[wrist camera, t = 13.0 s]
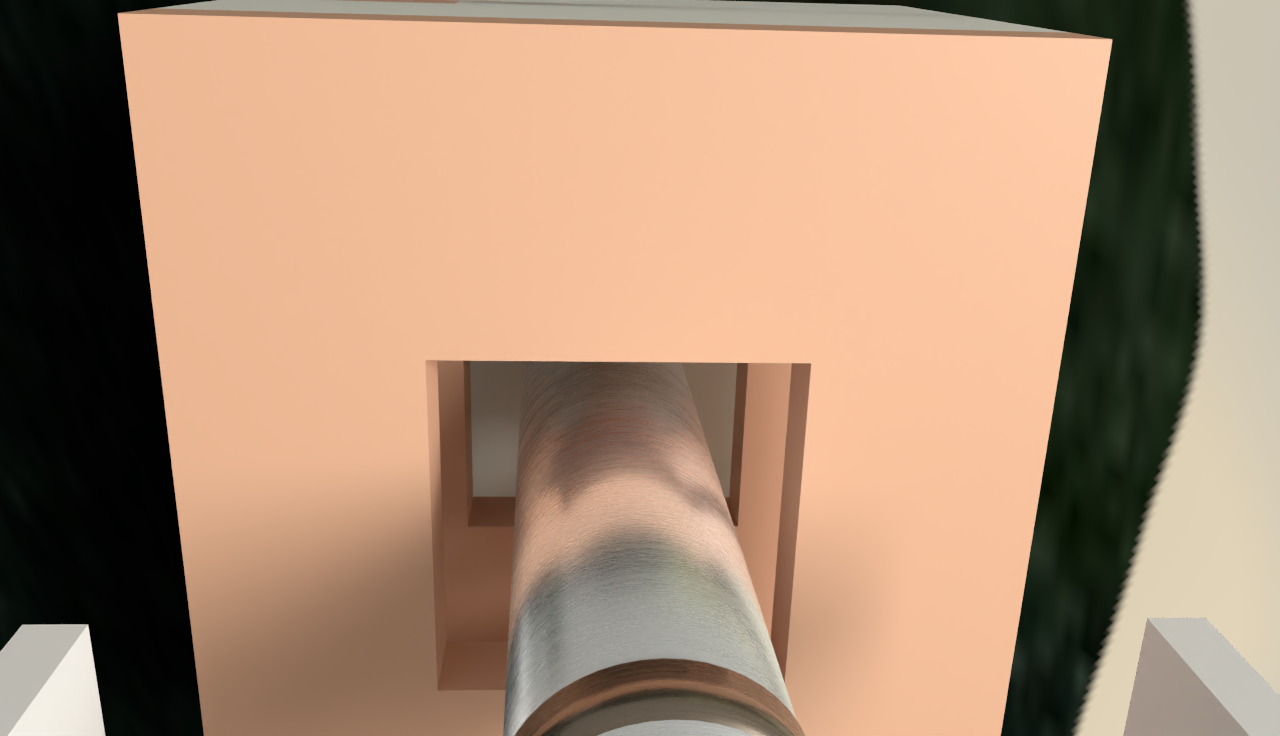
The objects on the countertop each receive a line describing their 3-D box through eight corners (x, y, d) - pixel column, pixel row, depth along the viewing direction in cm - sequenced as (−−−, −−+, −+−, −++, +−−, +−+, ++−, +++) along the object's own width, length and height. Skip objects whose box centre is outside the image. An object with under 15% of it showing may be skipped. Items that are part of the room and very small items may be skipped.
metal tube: (666, 404, 29) (879, 1207, 11) (522, 404, 29) (481, 1230, 10) (673, 265, 28) (927, 900, 10) (521, 263, 28) (476, 916, 9)
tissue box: (840, 593, 33) (972, 906, 22) (343, 595, 32) (226, 922, 21) (899, 5, 27) (1112, 39, 17) (302, -12, 27) (117, 13, 16)
